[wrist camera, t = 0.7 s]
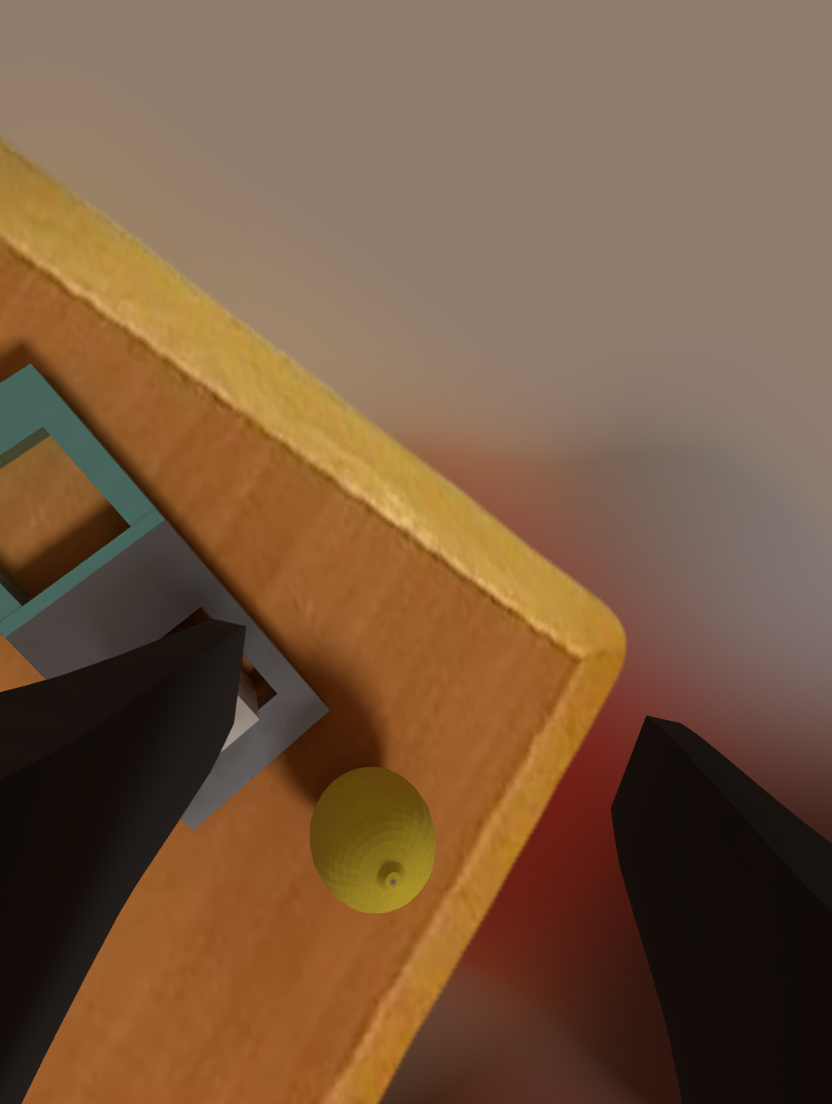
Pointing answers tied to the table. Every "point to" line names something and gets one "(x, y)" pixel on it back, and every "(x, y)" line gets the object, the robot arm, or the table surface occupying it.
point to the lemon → (372, 840)
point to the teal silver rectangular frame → (137, 593)
